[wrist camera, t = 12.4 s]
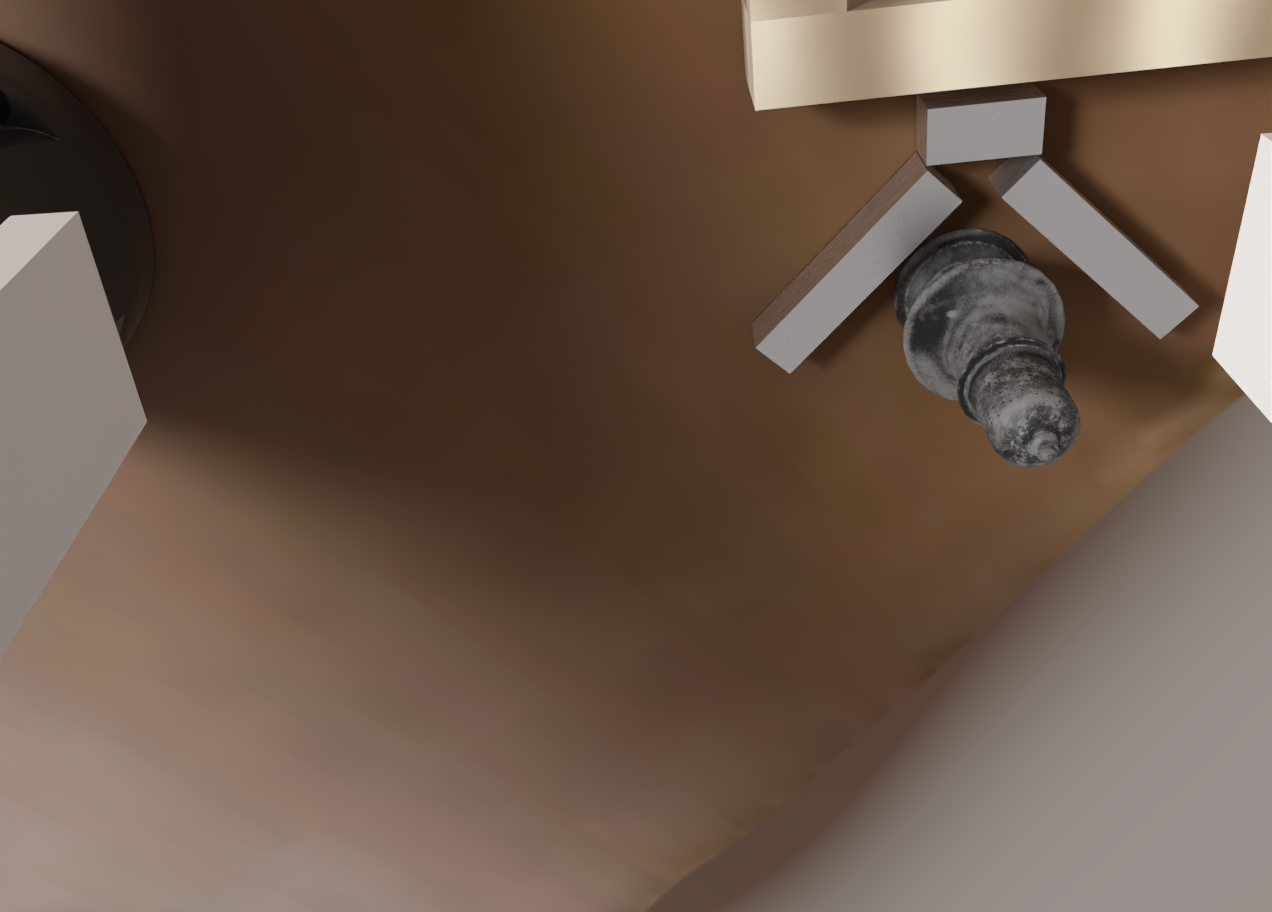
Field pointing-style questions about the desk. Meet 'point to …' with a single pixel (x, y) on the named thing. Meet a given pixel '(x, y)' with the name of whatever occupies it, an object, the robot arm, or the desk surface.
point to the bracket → (980, 43)
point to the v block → (926, 198)
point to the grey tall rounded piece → (989, 341)
